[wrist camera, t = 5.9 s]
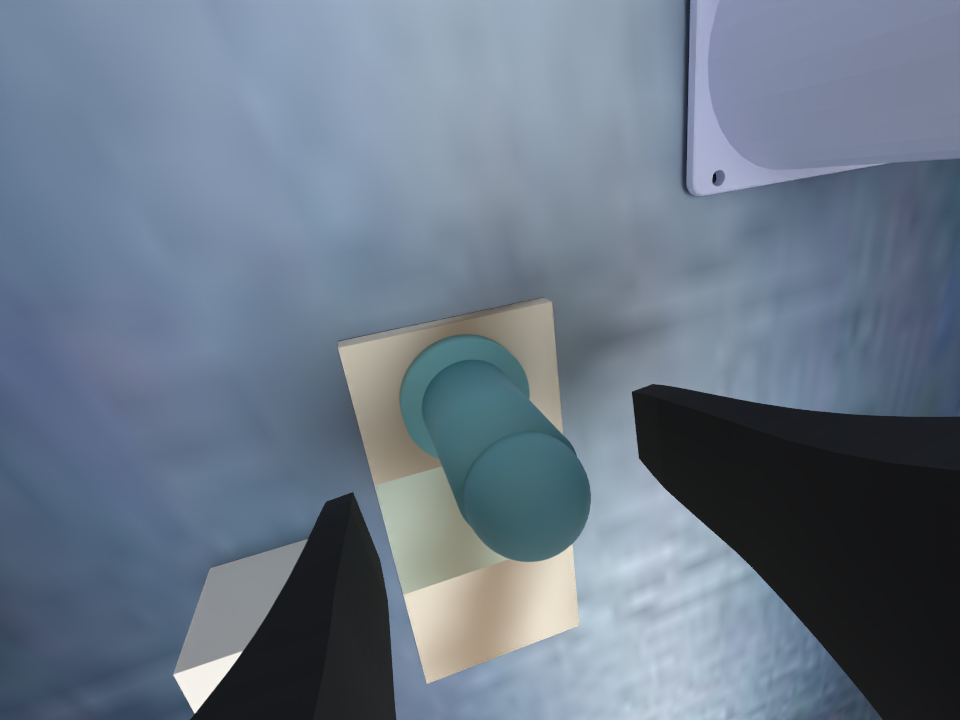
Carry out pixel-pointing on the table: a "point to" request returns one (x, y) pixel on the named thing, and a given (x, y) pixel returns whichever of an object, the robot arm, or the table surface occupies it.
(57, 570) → the table surface
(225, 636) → the die
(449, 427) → the pawn
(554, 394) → the flat rectangular panel
